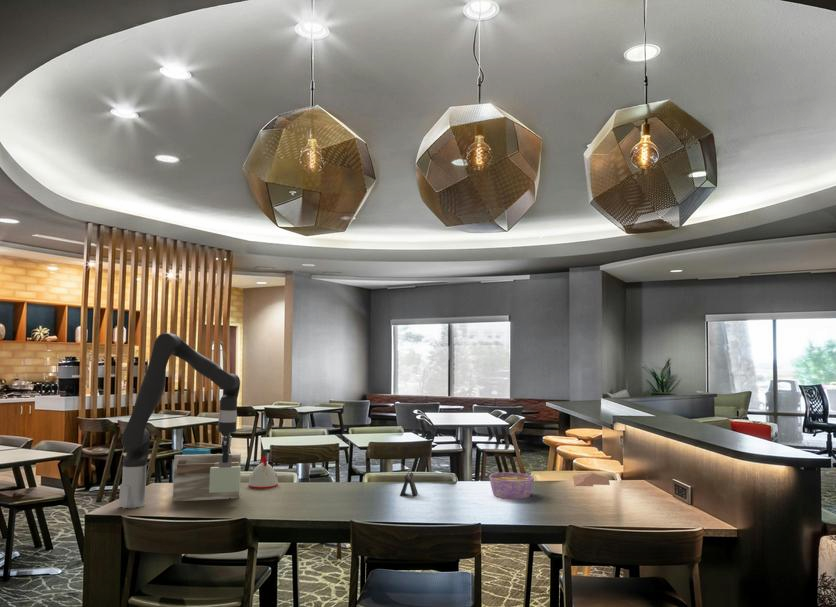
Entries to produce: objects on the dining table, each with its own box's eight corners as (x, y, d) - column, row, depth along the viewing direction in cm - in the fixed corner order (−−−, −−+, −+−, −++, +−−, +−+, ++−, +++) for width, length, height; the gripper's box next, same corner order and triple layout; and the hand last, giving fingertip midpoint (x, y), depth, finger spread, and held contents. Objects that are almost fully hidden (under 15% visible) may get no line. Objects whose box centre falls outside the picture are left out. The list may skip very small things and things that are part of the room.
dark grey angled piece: (397, 501, 285) (398, 474, 286) (400, 498, 291) (400, 471, 292) (417, 502, 283) (418, 475, 284) (419, 499, 289) (420, 472, 290)
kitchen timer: (252, 491, 302) (253, 459, 303) (245, 485, 314) (246, 454, 315) (281, 488, 308) (282, 457, 309) (273, 483, 320) (274, 453, 322)
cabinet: (239, 491, 269) (240, 454, 271) (209, 492, 266) (210, 455, 269) (240, 488, 279) (241, 453, 282) (212, 489, 277) (213, 454, 279)
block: (209, 492, 298) (211, 449, 300) (205, 495, 293) (206, 450, 295) (185, 491, 299) (186, 448, 301) (180, 494, 294) (181, 450, 296)
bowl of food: (480, 500, 289) (480, 474, 290) (516, 496, 298) (516, 471, 299) (506, 510, 271) (506, 482, 272) (543, 505, 280) (543, 478, 281)
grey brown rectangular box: (238, 502, 279) (239, 456, 281) (170, 504, 274) (172, 457, 276) (240, 496, 292) (241, 451, 293) (175, 498, 287) (177, 452, 288)
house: (614, 485, 327) (614, 469, 328) (619, 499, 295) (619, 481, 296) (568, 482, 332) (568, 466, 333) (568, 496, 300) (568, 478, 301)
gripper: (235, 422, 266) (233, 464, 265) (238, 419, 280) (235, 459, 278) (216, 422, 265) (214, 464, 264) (220, 418, 278) (217, 459, 277)
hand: (225, 461), depth 271 cm, fingers closed
